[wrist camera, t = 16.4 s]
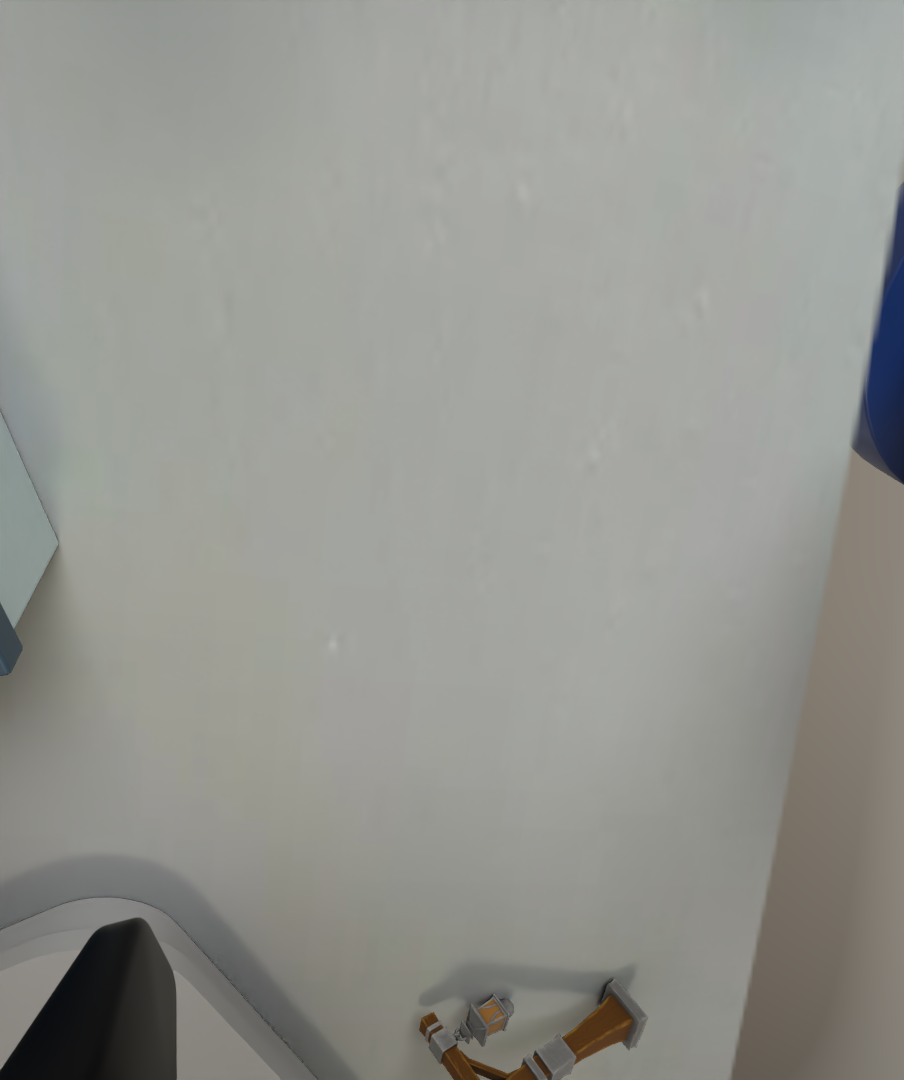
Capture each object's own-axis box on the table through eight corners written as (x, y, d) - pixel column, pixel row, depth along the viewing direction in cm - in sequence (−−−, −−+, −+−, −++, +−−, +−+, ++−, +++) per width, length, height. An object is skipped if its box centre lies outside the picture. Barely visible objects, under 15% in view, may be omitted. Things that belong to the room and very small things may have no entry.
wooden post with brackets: (402, 1018, 29) (477, 1142, 25) (570, 925, 33) (652, 1022, 30) (395, 1050, 29) (468, 1174, 26) (561, 955, 34) (640, 1052, 31)
